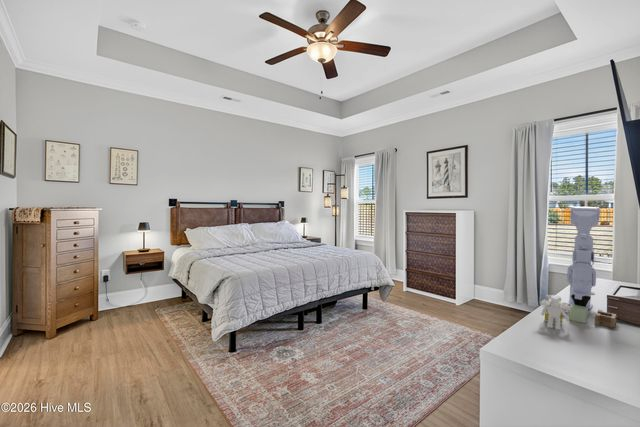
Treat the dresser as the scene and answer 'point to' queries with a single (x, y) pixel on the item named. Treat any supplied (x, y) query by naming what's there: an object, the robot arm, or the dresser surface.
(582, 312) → the sage block
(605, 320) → the walnut channel
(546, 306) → the blocky character figurine
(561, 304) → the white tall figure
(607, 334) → the dresser surface
